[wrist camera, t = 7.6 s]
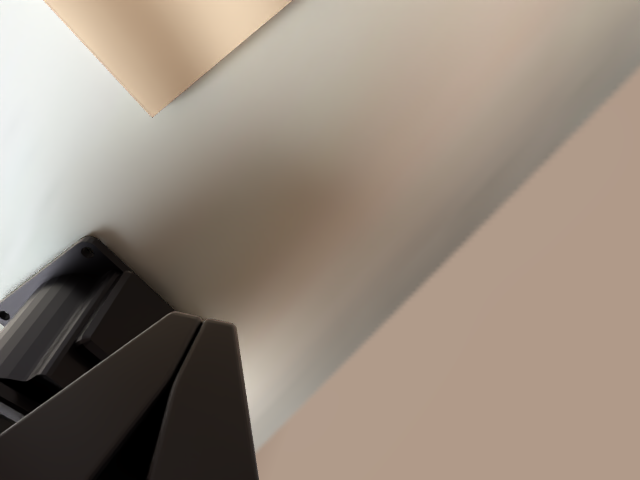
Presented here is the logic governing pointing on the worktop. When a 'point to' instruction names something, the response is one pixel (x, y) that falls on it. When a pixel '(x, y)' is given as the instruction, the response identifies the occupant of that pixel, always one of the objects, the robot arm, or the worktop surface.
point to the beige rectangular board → (162, 39)
